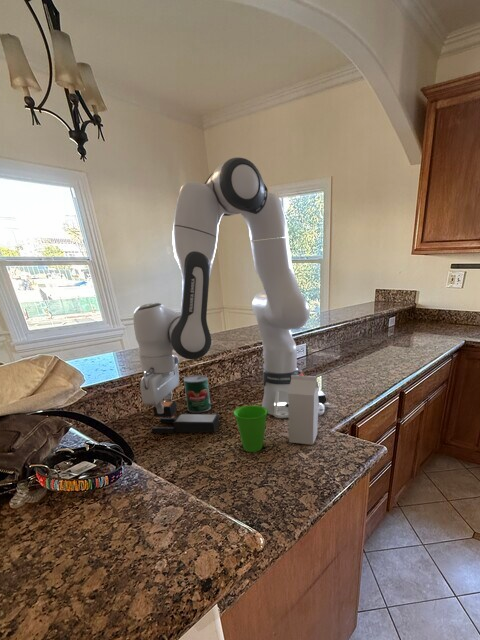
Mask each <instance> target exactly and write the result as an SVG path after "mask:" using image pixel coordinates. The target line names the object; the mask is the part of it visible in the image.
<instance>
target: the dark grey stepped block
mask: <svg viewBox="0 0 480 640" xmlns="http://www.w3.org/2000/svg"><path fill="white" fill-rule="evenodd" d="M159 419H160V424H172V425H173V426H153V427H151V432H152V434H174V433H207V434H208V433H213V434H214V433H215V432H216V431H217V428H218V427H219V425H220V415H219V413H180V414H179V415H178V416H177V417H160V418H159Z"/></svg>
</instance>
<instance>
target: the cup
mask: <svg viewBox="0 0 480 640" xmlns="http://www.w3.org/2000/svg"><path fill="white" fill-rule="evenodd" d="M267 413H268V410H267V409H266V408H265V407H262V405H257V404H255V405H253V404H251V405H250V404H249V405H243V406H240V407H237V408H236V409H234V410H233V416H235V420H236V425H237V428H238V432H239V435H240V440H241V444H242V447H243V449H244V451H245V452H248V453H256V452H259V451H261V450H262V448H263V445H264V438H265V429H266V421H267V415H268V414H267Z"/></svg>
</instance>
